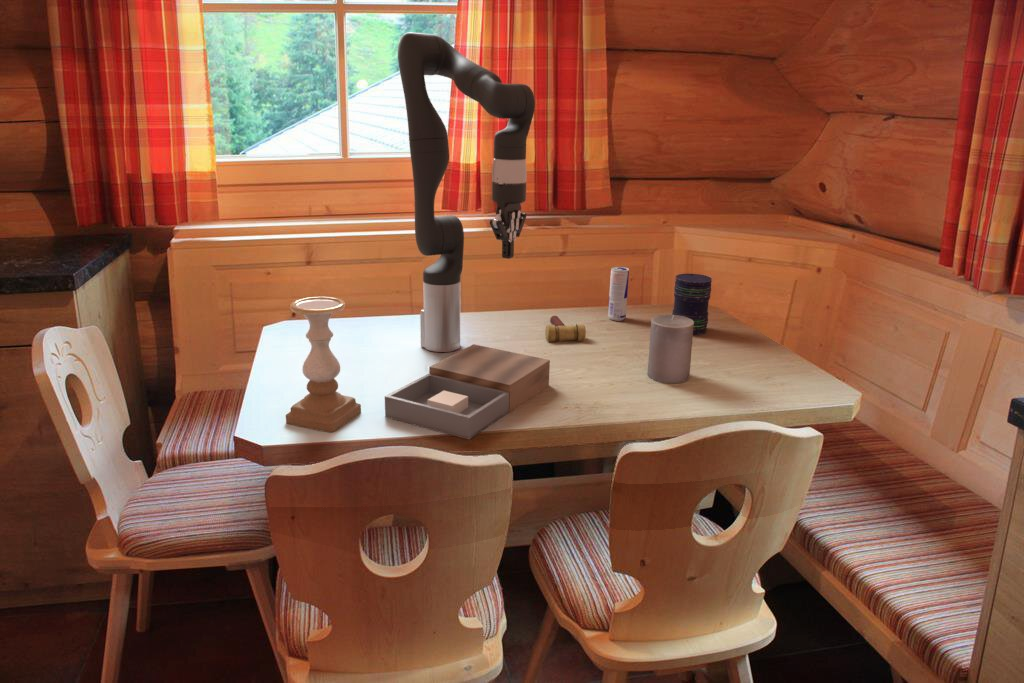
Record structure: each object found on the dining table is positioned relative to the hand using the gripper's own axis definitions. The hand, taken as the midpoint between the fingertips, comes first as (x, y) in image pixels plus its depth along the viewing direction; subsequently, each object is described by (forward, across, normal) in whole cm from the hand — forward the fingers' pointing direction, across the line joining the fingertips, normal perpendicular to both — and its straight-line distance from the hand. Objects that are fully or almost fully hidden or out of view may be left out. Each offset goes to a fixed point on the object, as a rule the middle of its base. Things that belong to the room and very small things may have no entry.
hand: (507, 257), depth 180 cm
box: (+27, +29, +3) cm, 40 cm away
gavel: (+28, -35, -3) cm, 45 cm away
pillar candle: (+27, -17, +34) cm, 47 cm away
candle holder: (+27, +43, -17) cm, 54 cm away
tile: (+24, +28, +2) cm, 37 cm away
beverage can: (+27, -54, +6) cm, 61 cm away
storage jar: (+27, -55, +27) cm, 67 cm away
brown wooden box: (+27, +12, +3) cm, 30 cm away
